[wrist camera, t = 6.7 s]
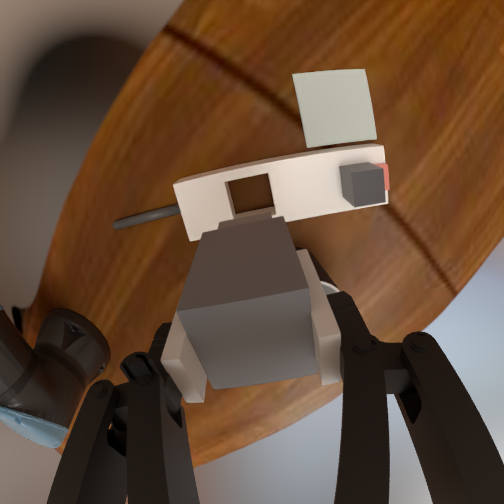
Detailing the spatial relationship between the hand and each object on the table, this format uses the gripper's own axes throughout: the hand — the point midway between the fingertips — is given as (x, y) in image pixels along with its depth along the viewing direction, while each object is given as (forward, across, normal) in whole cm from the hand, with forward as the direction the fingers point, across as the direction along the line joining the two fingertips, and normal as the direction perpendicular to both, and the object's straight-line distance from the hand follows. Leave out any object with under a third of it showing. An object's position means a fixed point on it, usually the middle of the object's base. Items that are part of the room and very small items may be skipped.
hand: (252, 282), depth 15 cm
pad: (+20, +12, +8) cm, 25 cm away
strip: (+20, -1, 0) cm, 20 cm away
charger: (+6, 0, 0) cm, 6 cm away
